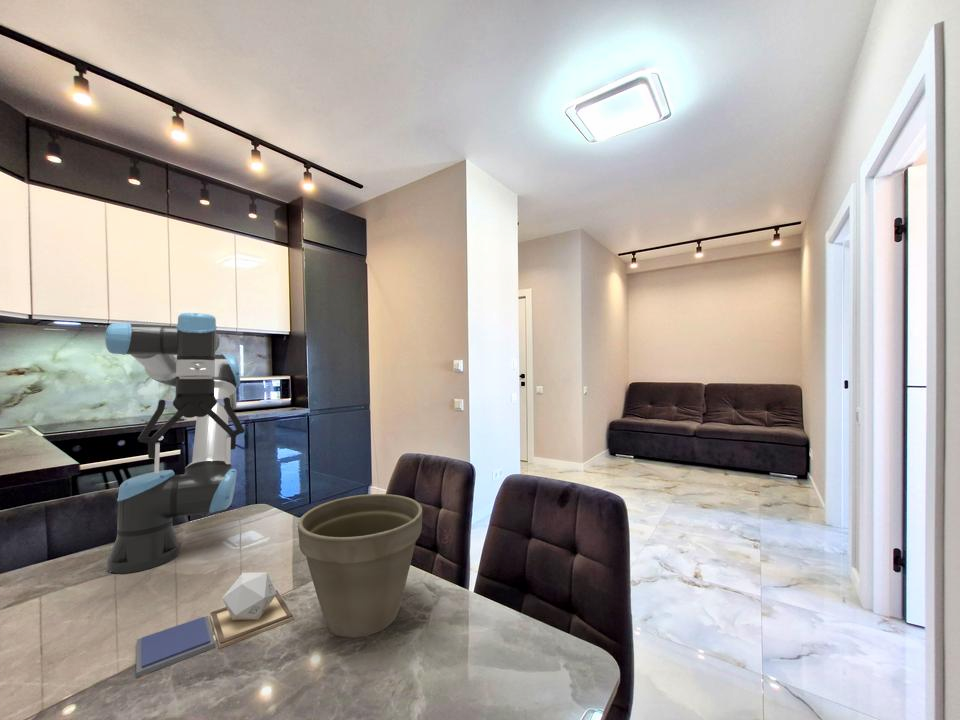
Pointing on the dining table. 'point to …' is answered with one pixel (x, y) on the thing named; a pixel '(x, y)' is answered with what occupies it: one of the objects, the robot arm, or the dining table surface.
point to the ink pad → (173, 645)
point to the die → (249, 596)
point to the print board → (249, 622)
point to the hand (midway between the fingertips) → (193, 467)
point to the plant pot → (360, 559)
